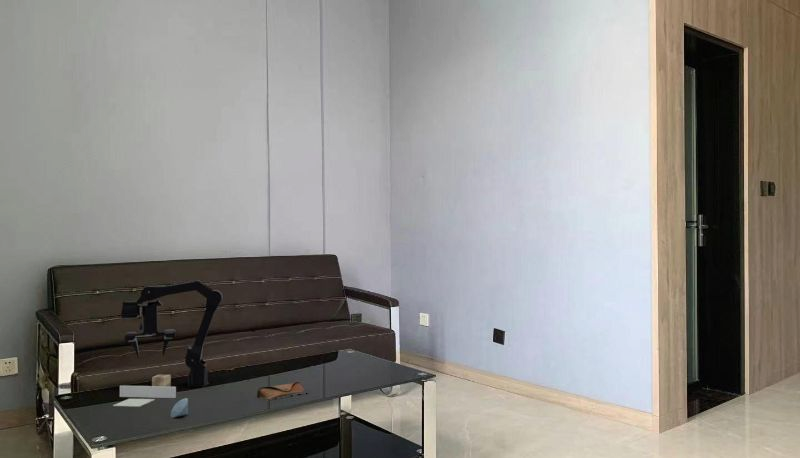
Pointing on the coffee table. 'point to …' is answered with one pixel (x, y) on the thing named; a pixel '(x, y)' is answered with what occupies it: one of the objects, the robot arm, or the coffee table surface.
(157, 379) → the maple block
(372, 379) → the coffee table surface
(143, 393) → the frosted wall
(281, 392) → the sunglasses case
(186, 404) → the gemstone
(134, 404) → the pad
